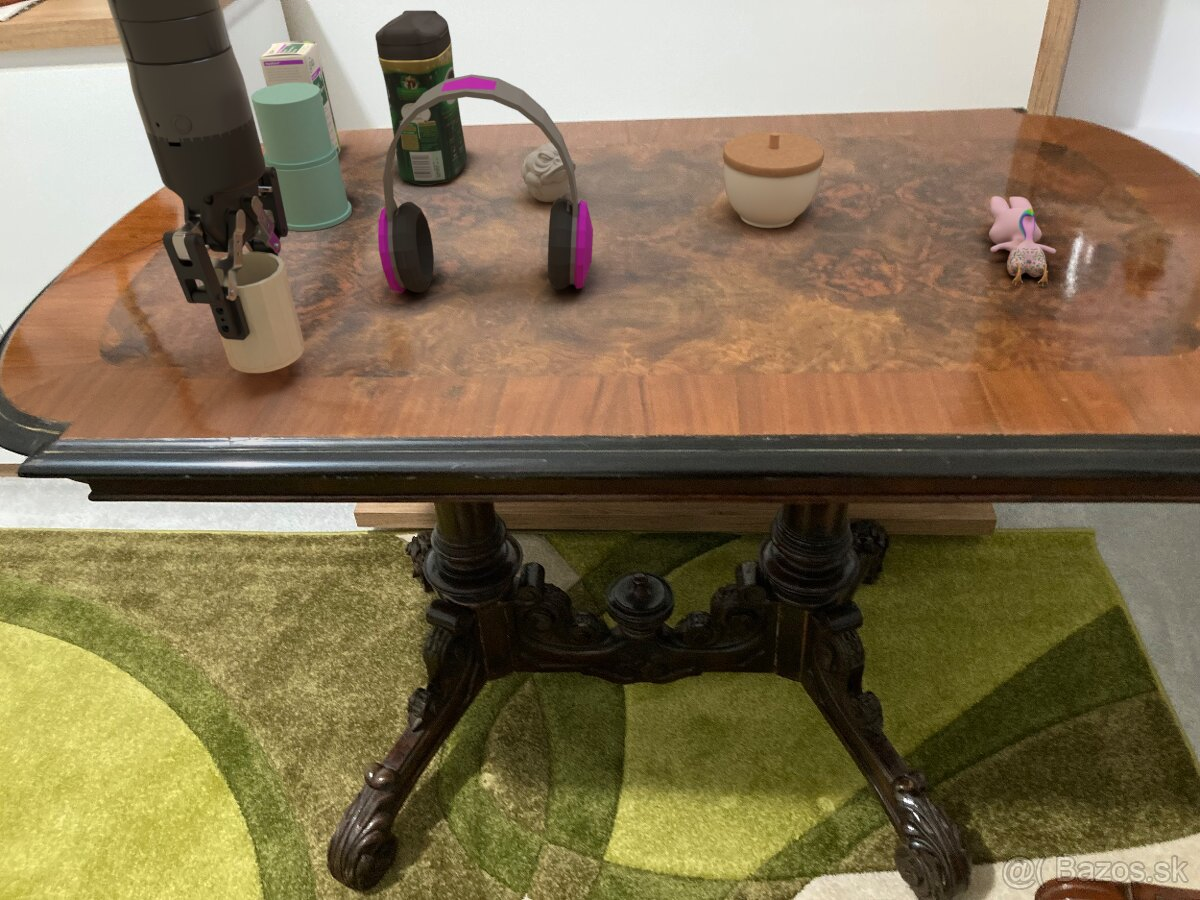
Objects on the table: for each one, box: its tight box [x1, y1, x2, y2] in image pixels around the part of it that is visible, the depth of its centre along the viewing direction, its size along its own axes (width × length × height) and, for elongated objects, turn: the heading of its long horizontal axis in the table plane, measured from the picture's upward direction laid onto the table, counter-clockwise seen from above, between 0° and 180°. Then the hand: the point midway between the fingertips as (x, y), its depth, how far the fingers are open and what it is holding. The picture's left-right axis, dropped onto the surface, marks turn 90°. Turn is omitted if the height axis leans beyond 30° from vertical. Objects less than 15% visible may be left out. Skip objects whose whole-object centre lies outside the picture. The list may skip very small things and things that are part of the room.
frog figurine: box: [520, 141, 577, 203], centre depth 106 cm, size 6×7×7 cm
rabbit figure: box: [988, 195, 1057, 287], centre depth 93 cm, size 6×6×15 cm
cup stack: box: [250, 83, 353, 232], centre depth 103 cm, size 9×9×14 cm
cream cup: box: [214, 251, 305, 374], centre depth 77 cm, size 6×6×8 cm
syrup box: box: [258, 40, 342, 155], centre depth 115 cm, size 6×6×14 cm
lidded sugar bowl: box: [722, 131, 825, 229], centre depth 100 cm, size 11×11×9 cm
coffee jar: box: [375, 9, 468, 186], centre depth 111 cm, size 10×8×19 cm
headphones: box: [377, 73, 594, 294], centre depth 86 cm, size 21×9×20 cm, turn 89°
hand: (255, 314), depth 77 cm, fingers closed on cream cup, 6 cm apart
